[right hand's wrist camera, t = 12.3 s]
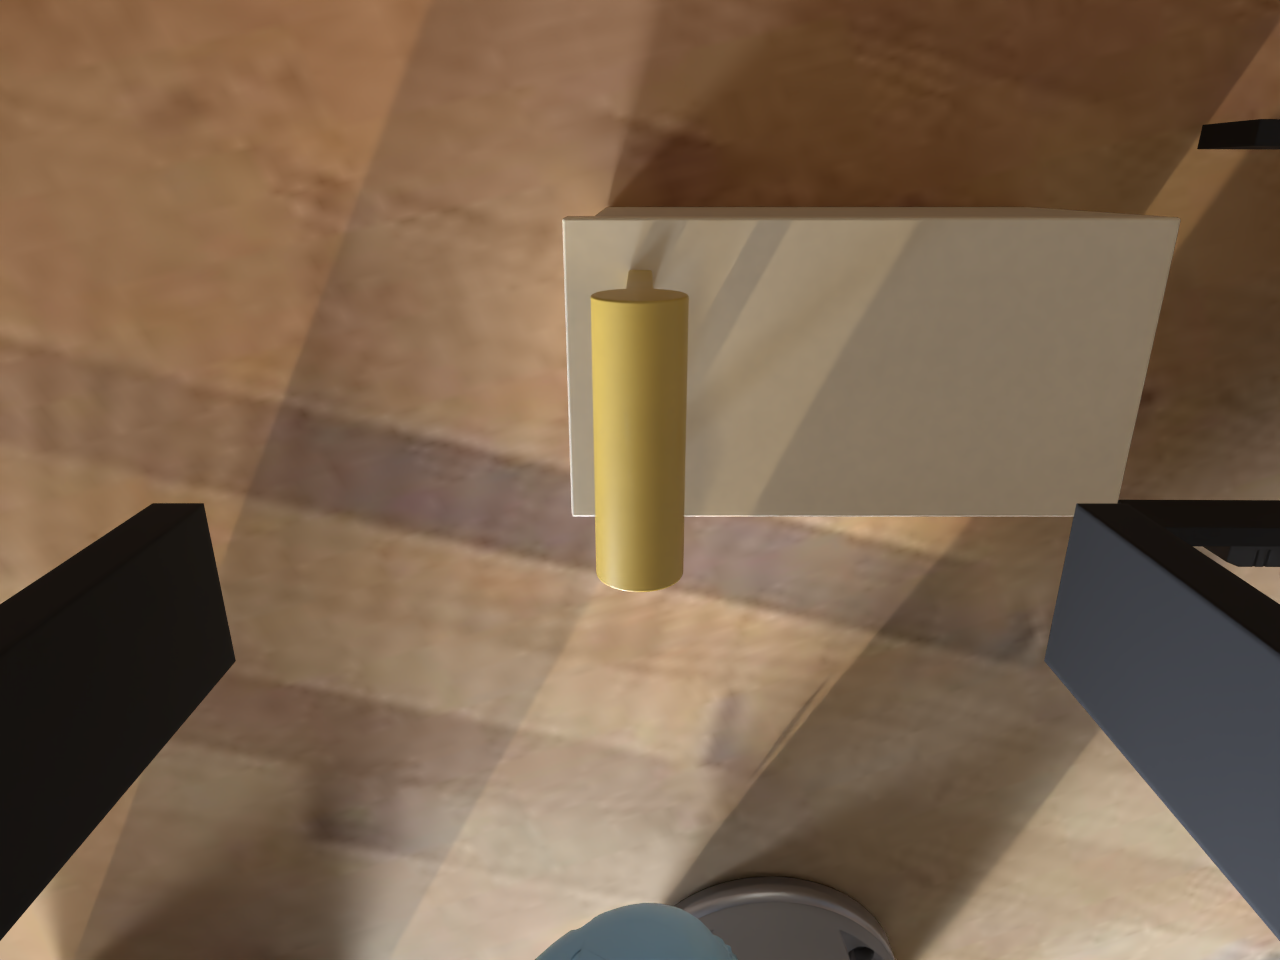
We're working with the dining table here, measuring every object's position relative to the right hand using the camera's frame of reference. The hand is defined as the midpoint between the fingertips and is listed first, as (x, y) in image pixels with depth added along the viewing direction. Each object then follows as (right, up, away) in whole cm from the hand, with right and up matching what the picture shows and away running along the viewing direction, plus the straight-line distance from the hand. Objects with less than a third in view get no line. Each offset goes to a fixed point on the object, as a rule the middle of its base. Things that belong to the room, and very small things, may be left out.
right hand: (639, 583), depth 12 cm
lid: (+7, +5, +13) cm, 16 cm away
